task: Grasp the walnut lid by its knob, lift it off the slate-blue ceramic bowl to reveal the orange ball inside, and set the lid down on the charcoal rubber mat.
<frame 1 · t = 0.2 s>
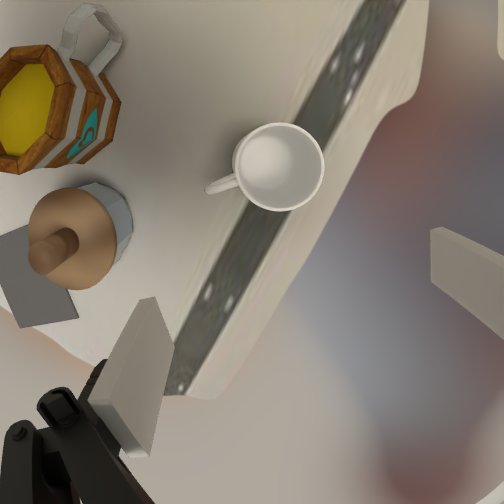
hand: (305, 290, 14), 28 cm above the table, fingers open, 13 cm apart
mat: (28, 278, 41), on the table
bowl: (97, 222, 40), on the table
mug 2: (89, 97, 35), on the table
lid: (71, 238, 32), point 8 cm above the table, touching bowl
mug: (253, 165, 39), on the table
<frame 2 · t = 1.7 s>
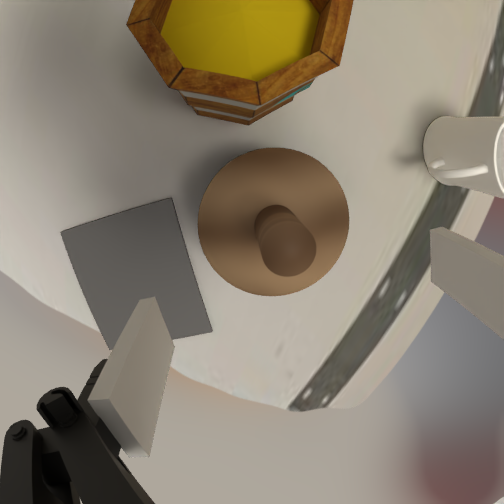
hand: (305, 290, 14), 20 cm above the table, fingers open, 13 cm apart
mat: (134, 282, 35), on the table
mug 2: (255, 42, 27), on the table
lid: (273, 222, 25), point 8 cm above the table, touching bowl
mug: (438, 152, 32), on the table
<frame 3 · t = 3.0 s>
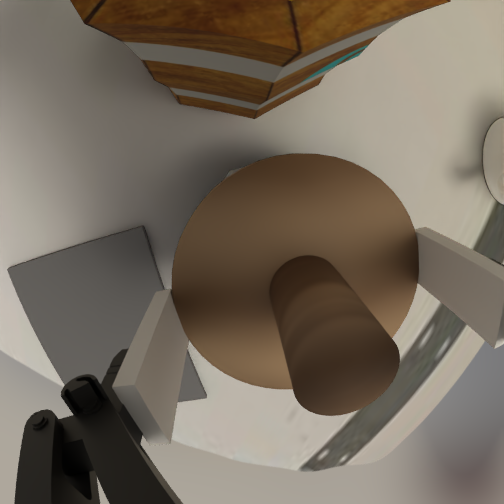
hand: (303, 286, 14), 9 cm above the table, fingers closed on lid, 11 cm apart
mat: (102, 336, 24), on the table
mug 2: (264, 3, 18), on the table
lid: (300, 279, 15), point 8 cm above the table, touching bowl, gripper
mug: (498, 163, 22), on the table
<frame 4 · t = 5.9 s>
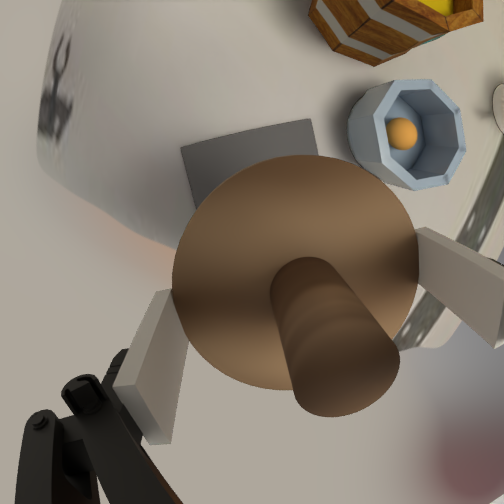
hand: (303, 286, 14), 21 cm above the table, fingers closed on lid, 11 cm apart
mat: (262, 203, 35), on the table
bowl: (387, 134, 33), on the table
mug 2: (373, 4, 28), on the table
ball: (393, 134, 31), point 1 cm above the table, touching bowl
lid: (300, 280, 15), point 21 cm above the table, touching gripper
mug: (502, 111, 32), on the table
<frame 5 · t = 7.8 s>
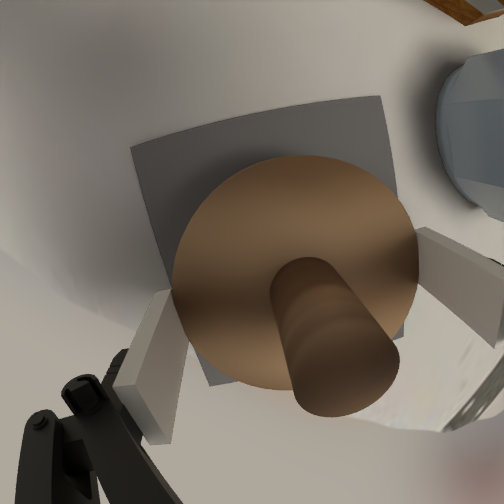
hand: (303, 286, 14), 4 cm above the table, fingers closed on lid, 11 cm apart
mat: (289, 253, 18), on the table
bowl: (488, 135, 17), on the table
lid: (300, 280, 15), point 4 cm above the table, touching gripper
when the fingers open (3 cm above the table, at t = 9.0 s): lid drops 2 cm, resting on mat.
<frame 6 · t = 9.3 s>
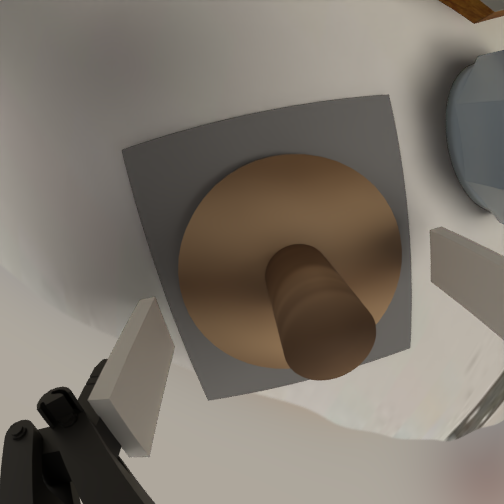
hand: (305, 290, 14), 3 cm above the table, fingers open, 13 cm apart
mat: (291, 263, 17), on the table
bowl: (499, 137, 15), on the table
lid: (293, 266, 17), resting on mat
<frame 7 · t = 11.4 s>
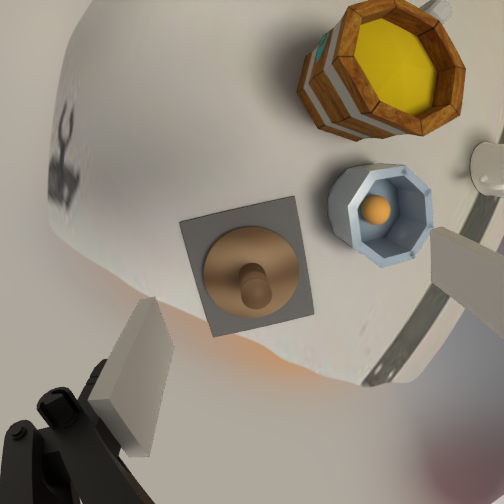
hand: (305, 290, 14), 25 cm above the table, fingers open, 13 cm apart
mat: (251, 270, 40), on the table
bowl: (364, 205, 39), on the table
mug 2: (360, 74, 34), on the table
ball: (369, 207, 38), point 1 cm above the table, touching bowl
lid: (251, 272, 40), resting on mat
mug: (480, 170, 39), on the table
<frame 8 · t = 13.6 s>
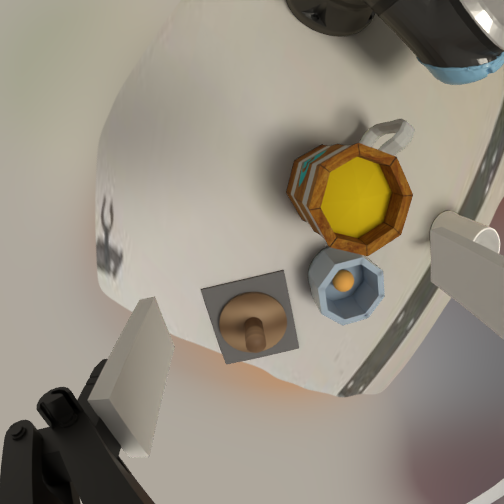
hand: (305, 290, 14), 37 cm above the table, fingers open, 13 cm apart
mat: (252, 320, 56), on the table
bowl: (337, 273, 54), on the table
mug 2: (338, 171, 49), on the table
ball: (339, 276, 52), point 1 cm above the table, touching bowl
lid: (252, 321, 55), resting on mat
mug: (439, 234, 53), on the table
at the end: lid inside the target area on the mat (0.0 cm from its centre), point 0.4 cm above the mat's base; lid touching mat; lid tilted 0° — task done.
